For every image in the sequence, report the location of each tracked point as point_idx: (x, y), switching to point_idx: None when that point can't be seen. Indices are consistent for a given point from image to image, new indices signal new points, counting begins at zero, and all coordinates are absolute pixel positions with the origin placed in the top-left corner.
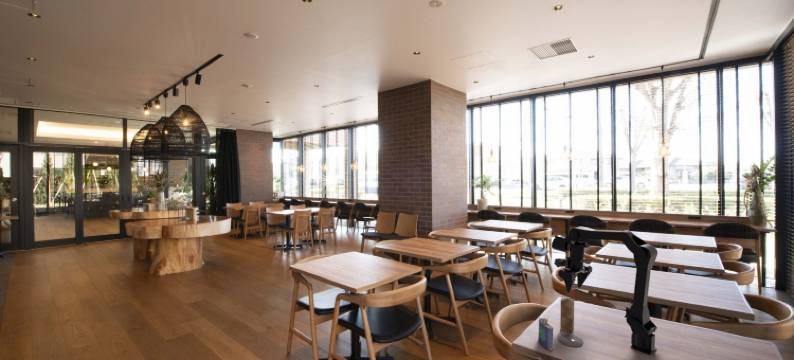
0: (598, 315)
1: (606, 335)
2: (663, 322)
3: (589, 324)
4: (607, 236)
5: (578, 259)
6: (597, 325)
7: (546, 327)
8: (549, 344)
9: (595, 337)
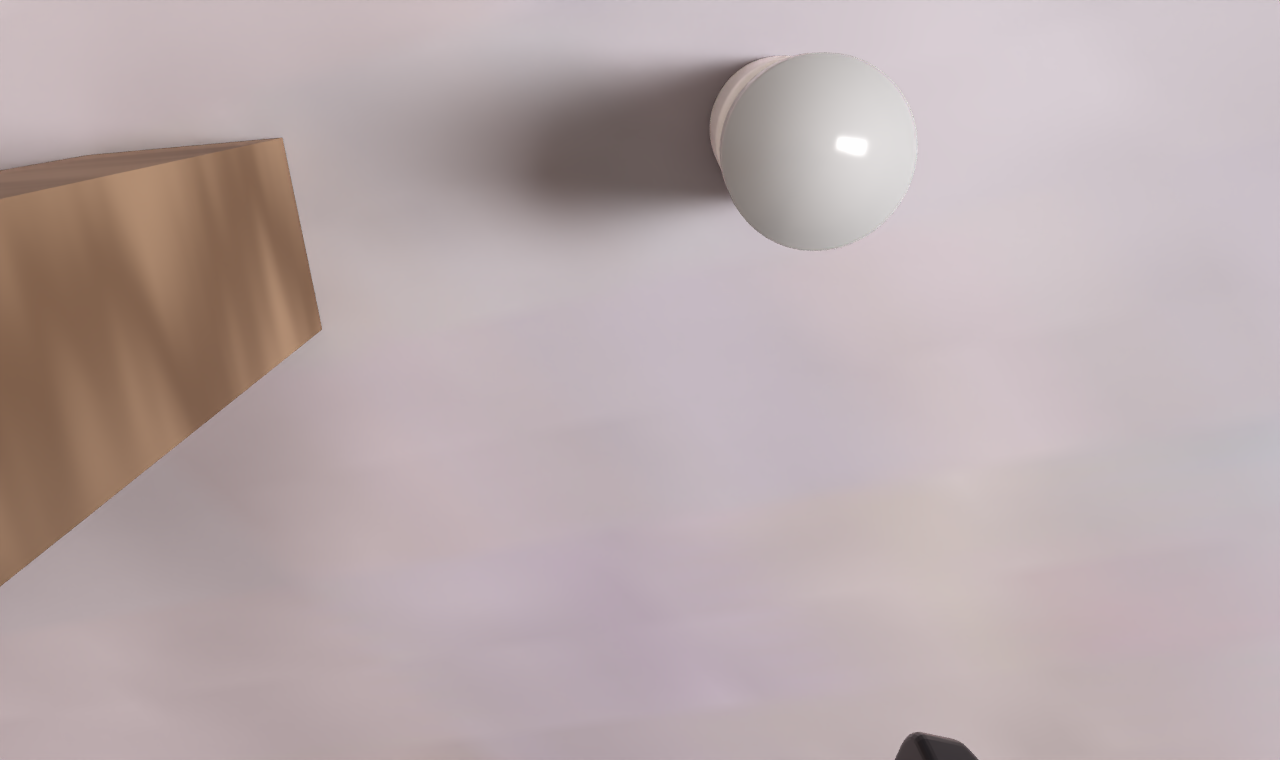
0: (1189, 528)
1: (458, 727)
2: None
3: (691, 485)
4: None
5: None
6: (732, 584)
7: None
8: None
9: (279, 631)
